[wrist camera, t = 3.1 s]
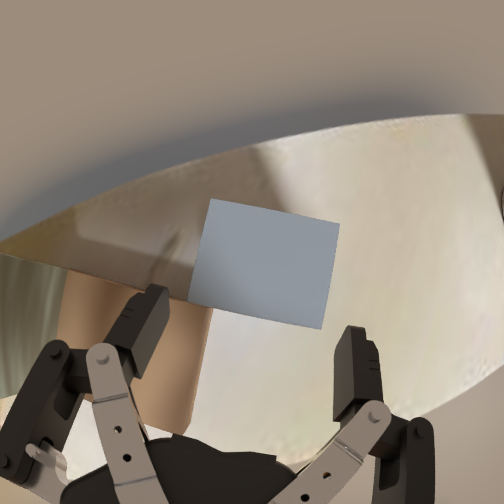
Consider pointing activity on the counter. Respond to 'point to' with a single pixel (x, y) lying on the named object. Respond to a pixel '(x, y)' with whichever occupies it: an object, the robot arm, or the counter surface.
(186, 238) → the counter surface
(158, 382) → the bookend
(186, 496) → the robot arm
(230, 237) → the grey block
